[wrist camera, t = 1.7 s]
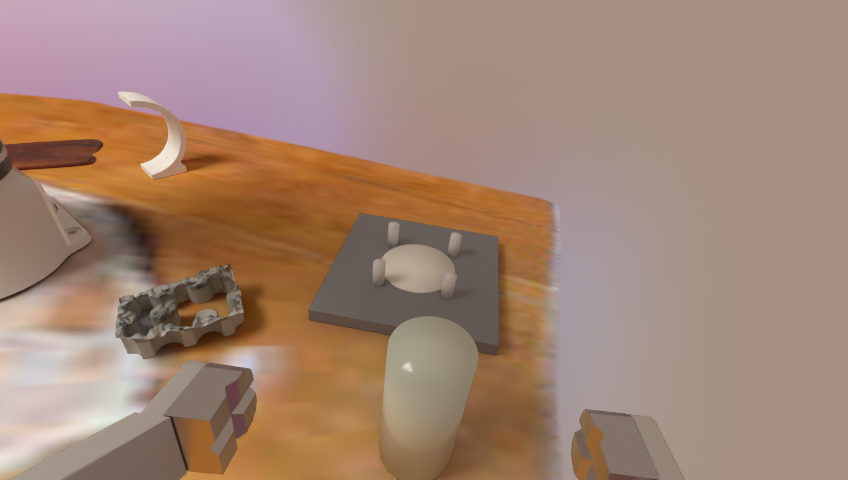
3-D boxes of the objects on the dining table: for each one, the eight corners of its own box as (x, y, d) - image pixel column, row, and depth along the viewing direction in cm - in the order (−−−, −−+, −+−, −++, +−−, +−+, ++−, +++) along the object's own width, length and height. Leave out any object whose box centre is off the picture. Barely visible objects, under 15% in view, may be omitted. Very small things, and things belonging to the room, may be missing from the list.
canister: (364, 439, 34) (369, 342, 27) (418, 399, 37) (435, 304, 30) (411, 501, 30) (430, 408, 23) (466, 451, 34) (497, 357, 27)
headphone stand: (141, 168, 65) (117, 92, 58) (181, 159, 69) (163, 86, 62) (153, 179, 63) (129, 101, 56) (193, 170, 67) (176, 95, 60)
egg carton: (240, 289, 47) (235, 260, 44) (249, 337, 41) (243, 308, 39) (128, 311, 42) (115, 281, 40) (121, 368, 37) (106, 337, 34)
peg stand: (309, 319, 43) (306, 288, 41) (360, 221, 60) (360, 194, 57) (496, 355, 42) (506, 325, 40) (495, 245, 59) (502, 218, 56)
